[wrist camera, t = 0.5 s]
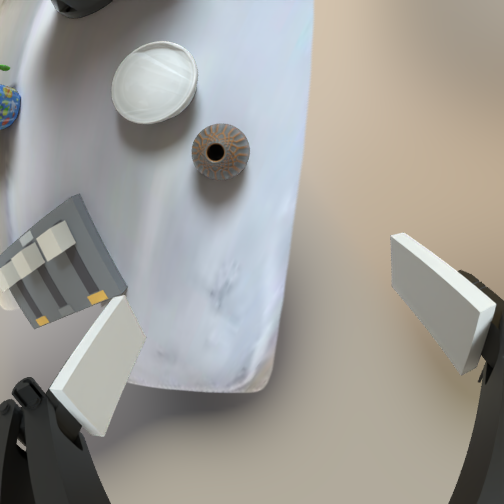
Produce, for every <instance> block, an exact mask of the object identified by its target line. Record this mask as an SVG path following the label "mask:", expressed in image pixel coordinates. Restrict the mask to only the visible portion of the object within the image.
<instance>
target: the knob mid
mask: <svg viewBox="0 0 504 504" xmlns="http://www.w3.org/2000/svg"><path fill="white" fill-rule="evenodd" d="M11 260H12V262H13V264H14V266H15V268H16V270H17V272H18V274H19V276H20V278H21V279H23V278H24V277H25V276H27V275H28V274H30V273H31V272H33V271H34V270H35V269H37V268H38V267H39V266H41V265H42V264H44V263H45V261H44V259H43V257H42V255H41V253H40V251H39V249H38V247H37V245H36V243H35V242H34V243H33V244H31V245H29V246H28V247H26V248H24V249H23V250H21V251H20V252H19V253H17V254H16V255H15V256H14V257H13V258H11Z"/></svg>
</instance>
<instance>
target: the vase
mask: <svg viewBox="0 0 504 504" xmlns="http://www.w3.org/2000/svg"><path fill="white" fill-rule="evenodd" d="M249 155H250V147H249V143H248V140H247V138H246V137H245V135H244V134H243V133H242V132H241V131H240V130H239V129H238V128H236V127H234V126H232V125H229V124H214V125H211V126H208V127H206V128H205V129H203V130H202V131H201V132H200V133H199V134H198V135H197V137H196V138H195V140H194V142H193V145H192V159H193V162H194V165H195V166H196V168H197V169H198V170H199V172H200V173H202V174H203V175H204V176H206V177H208V178H211V179H215V180H226V179H230V178H232V177H234V176H236V175H237V174H239V173H240V172H241V171H242V170H243V169H244V167H245V166H246V164H247V162H248V159H249Z"/></svg>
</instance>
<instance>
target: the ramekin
mask: <svg viewBox="0 0 504 504" xmlns="http://www.w3.org/2000/svg"><path fill="white" fill-rule="evenodd" d="M197 81H198V69H197V65H196V62H195V60H194V58H193V56H192V55H191V54H190V52H189V51H188V50H187V49H185V48H184V47H182V46H180V45H178V44H176V43H173V42H168V41H158V42H152V43H148V44H145V45H143V46H141V47H139V48H137V49H135V50H134V51H133V52H131V53H130V54H129V55H128V56H127V57H126V58H125V59H124V60H123V61H122V62H121V64H120V65H119V67H118V68H117V70H116V72H115V75H114V77H113V81H112V87H111V95H112V100H113V104H114V106H115V108H116V110H117V111H118V112H119V114H120V115H121V116H123V117H124V118H125V119H127V120H129V121H131V122H134V123H138V124H155V123H159V122H162V121H165V120H167V119H170V118H172V117H174V116H176V115H178V114H179V113H181V112H182V111H183V110H184V109H186V107H187V106H188V105H189V104H190V102H191V101H192V99H193V97H194V94H195V92H196V88H197Z"/></svg>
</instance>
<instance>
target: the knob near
mask: <svg viewBox="0 0 504 504" xmlns="http://www.w3.org/2000/svg"><path fill="white" fill-rule="evenodd" d="M36 240H37V242H38V244H39V246H40V248H41V250H42V252H43V254H44V256H45V258H46V260H47V261H49V260H51V259H53V258H54V257H56V256H57V255H59V254H60V253H62V252H64V251H65V250H66V249H68V248H69V247H71V246H72V245H74V244H75V243H76V242H75V240H74V238H73V236H72V234H71V232H70V230H69V227H68V225H67V223H66V221H65V220H64V221H63V222H61V223H59V224H57V225H55V226H53V227H51V228H50V229H48V230H47V231H45V232H44V233H43V234H41V235H40V236H39V237H38V238H36Z"/></svg>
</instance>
